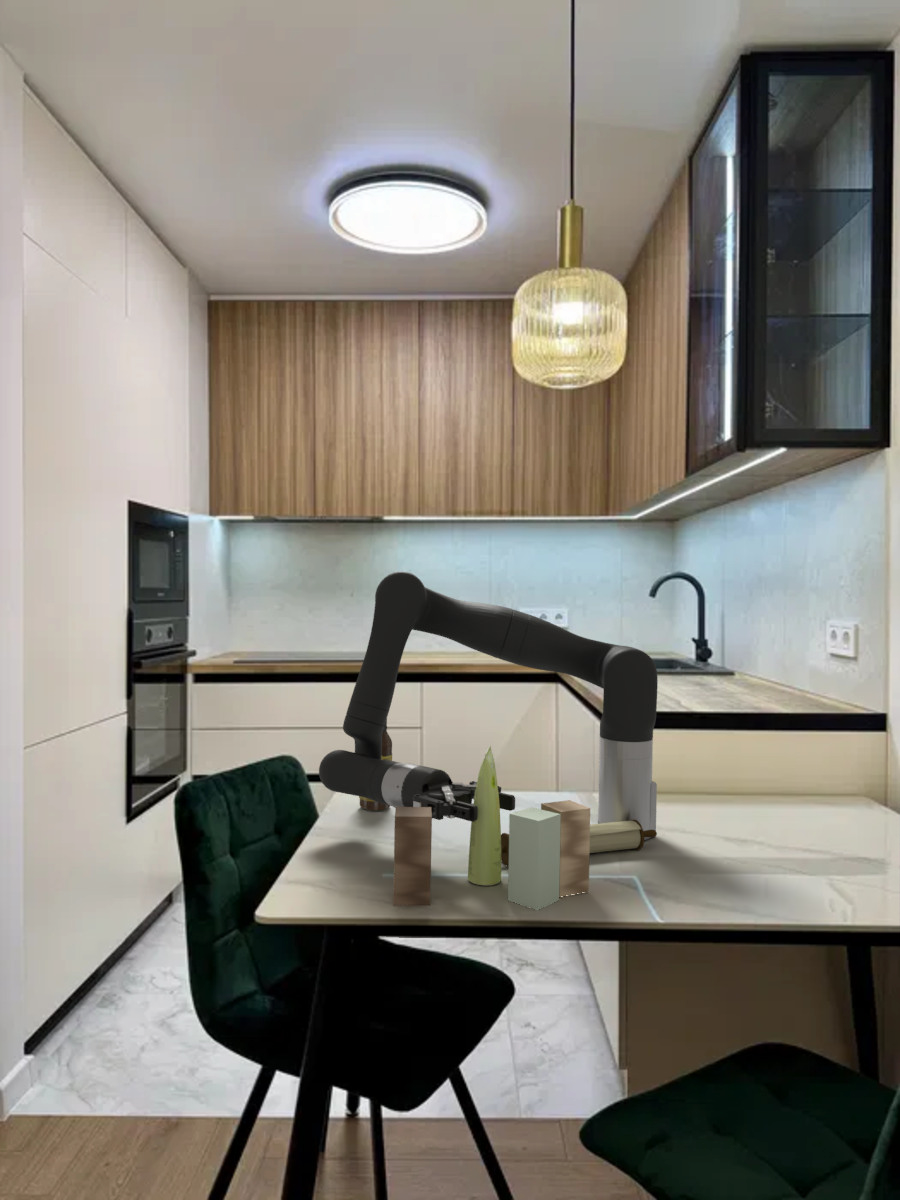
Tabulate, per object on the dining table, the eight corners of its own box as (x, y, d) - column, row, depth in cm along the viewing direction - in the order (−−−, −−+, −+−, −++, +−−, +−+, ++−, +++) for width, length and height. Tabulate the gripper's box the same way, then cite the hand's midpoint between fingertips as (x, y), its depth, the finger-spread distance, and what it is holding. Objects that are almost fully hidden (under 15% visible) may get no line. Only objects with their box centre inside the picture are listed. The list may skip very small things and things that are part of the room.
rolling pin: (645, 842, 141) (646, 814, 141) (665, 852, 136) (666, 822, 136) (474, 862, 129) (475, 830, 129) (489, 873, 124) (490, 840, 124)
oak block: (568, 881, 121) (569, 800, 121) (588, 892, 116) (590, 808, 116) (539, 886, 119) (541, 803, 119) (559, 897, 114) (561, 811, 114)
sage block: (530, 891, 116) (531, 807, 116) (559, 900, 113) (560, 814, 113) (507, 900, 113) (509, 813, 113) (537, 910, 109) (538, 820, 109)
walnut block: (429, 892, 116) (431, 807, 115) (430, 905, 111) (431, 816, 110) (394, 891, 115) (395, 806, 115) (393, 905, 110) (394, 816, 110)
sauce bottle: (352, 806, 161) (354, 705, 161) (379, 802, 165) (381, 703, 165) (370, 814, 156) (371, 709, 156) (397, 809, 160) (399, 707, 159)
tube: (511, 884, 119) (513, 750, 119) (482, 890, 116) (485, 753, 116) (488, 872, 124) (490, 743, 124) (460, 878, 121) (462, 746, 121)
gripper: (384, 772, 125) (463, 790, 114) (447, 759, 135) (526, 775, 124) (383, 821, 125) (462, 844, 114) (446, 805, 135) (525, 825, 124)
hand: (495, 808), depth 119 cm, fingers open, 8 cm apart
